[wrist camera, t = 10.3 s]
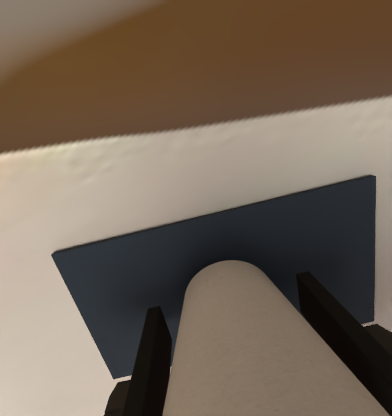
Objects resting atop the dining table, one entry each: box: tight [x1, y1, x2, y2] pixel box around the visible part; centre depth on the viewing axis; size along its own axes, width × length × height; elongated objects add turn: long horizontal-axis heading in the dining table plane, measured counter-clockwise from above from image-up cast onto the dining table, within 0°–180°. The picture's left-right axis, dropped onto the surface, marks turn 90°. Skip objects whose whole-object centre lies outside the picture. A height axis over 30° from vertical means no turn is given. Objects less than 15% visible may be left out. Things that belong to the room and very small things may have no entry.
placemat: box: [51, 175, 376, 379], centre depth 14 cm, size 20×11×1 cm, turn 104°
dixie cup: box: [162, 260, 390, 416], centre depth 8 cm, size 8×8×10 cm
